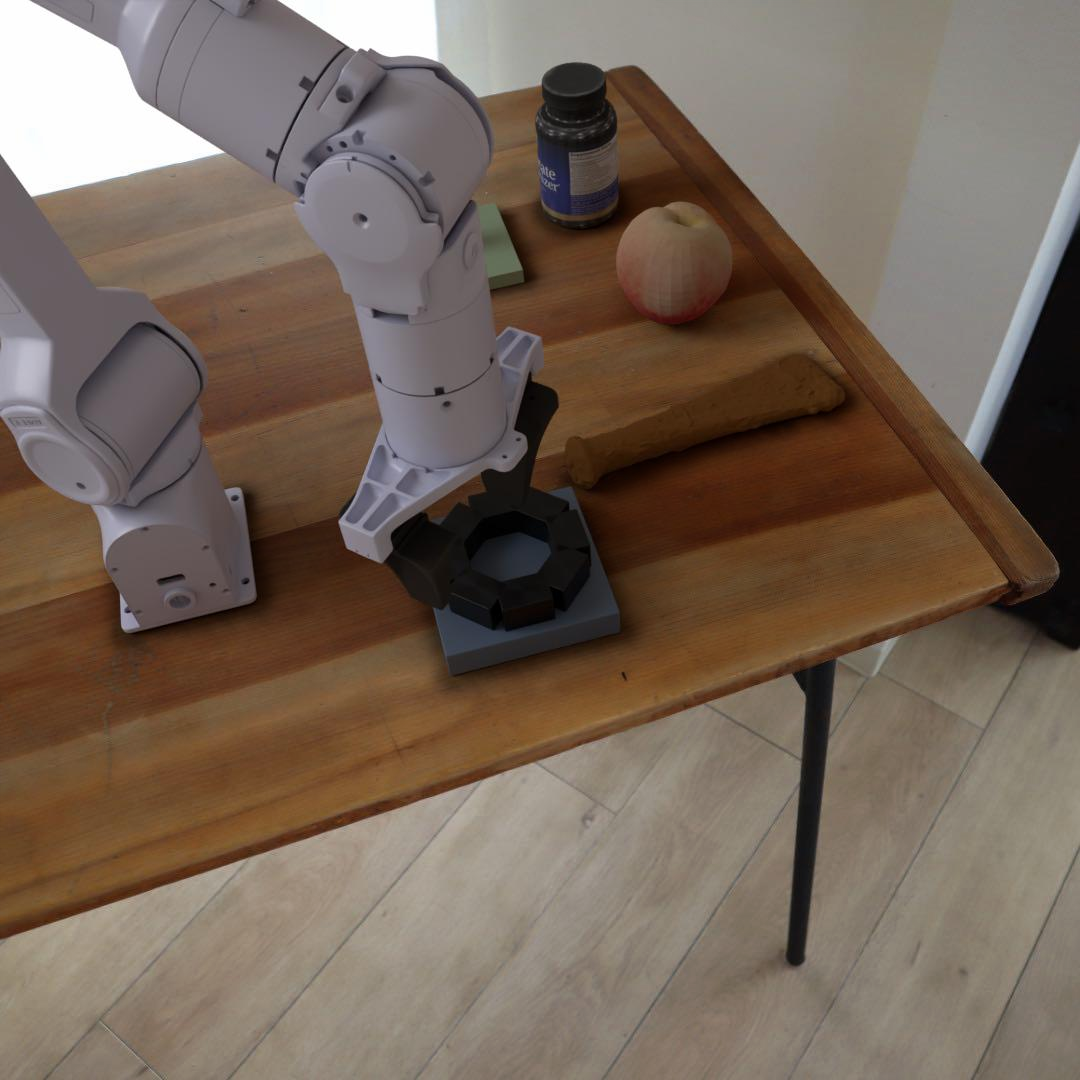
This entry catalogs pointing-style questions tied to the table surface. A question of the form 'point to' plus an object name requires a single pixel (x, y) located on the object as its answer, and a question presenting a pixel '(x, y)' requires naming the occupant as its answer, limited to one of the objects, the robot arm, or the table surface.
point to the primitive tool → (708, 417)
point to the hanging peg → (498, 249)
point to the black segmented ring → (526, 594)
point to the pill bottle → (577, 146)
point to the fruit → (674, 262)
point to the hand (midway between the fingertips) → (470, 547)
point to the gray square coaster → (487, 647)
